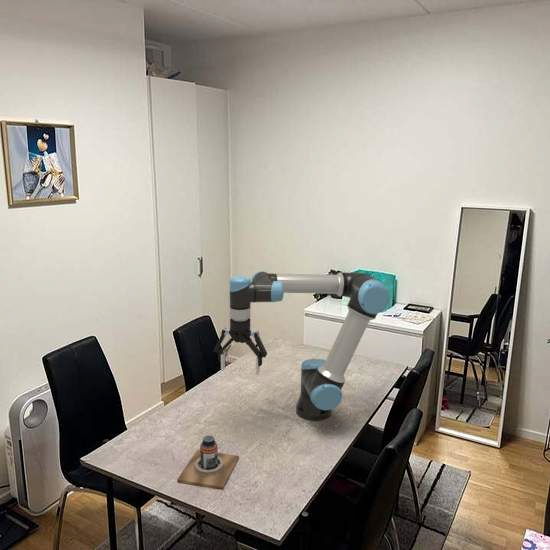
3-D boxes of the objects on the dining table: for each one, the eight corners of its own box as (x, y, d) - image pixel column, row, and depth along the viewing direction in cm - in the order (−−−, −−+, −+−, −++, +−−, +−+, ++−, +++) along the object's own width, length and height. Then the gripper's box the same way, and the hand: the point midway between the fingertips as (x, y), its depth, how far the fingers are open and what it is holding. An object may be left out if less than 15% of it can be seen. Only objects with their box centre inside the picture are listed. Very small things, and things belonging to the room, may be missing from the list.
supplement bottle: (201, 462, 181) (200, 433, 178) (218, 461, 181) (217, 433, 178) (200, 472, 175) (199, 443, 172) (217, 472, 175) (217, 442, 173)
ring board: (238, 458, 185) (238, 451, 184) (222, 489, 168) (222, 482, 167) (197, 451, 188) (197, 445, 188) (177, 482, 171) (177, 475, 171)
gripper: (275, 317, 189) (274, 370, 194) (211, 312, 194) (212, 363, 200) (270, 324, 182) (270, 379, 187) (204, 318, 187) (205, 371, 193)
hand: (240, 371), depth 193 cm, fingers open, 13 cm apart
